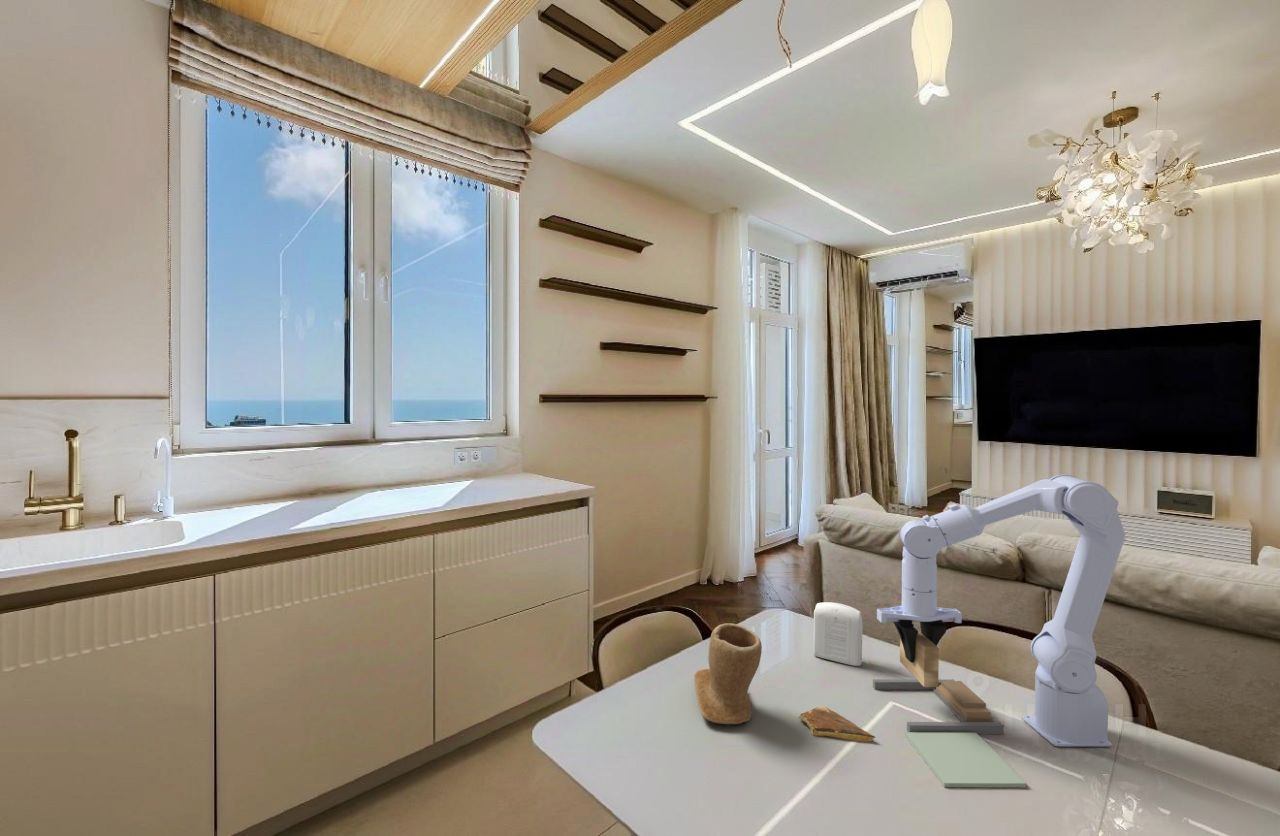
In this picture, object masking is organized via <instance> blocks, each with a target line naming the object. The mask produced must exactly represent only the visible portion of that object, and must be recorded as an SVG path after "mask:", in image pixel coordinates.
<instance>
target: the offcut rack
mask: <svg viewBox="0 0 1280 836" xmlns="http://www.w3.org/2000/svg"><path fill="white" fill-rule="evenodd" d="M872 688H873V689H874V690H882V691H883V690H889V691H890V690H891V691H892V690H893V691H894V690H898V691H899V690H902V691H903V690H908V691H909V690H925V691H926V690H929V691H930V690H932V691H933V694H934V695H935V696H937V697H938V699H939V700H941V702H942V703H943V704H944V705H945V706H947V708H948V709H949V710H950V711H951V712H952V713H953V714H954V715H955V716H956V717H957V718H958V719H959V720H960V721H907V722H906V731H907V732H947V733H977V734H978V735H1004V733H1005V731H1004V729H1005V726H1004V724H1003V723H1002V722H1000V721H995V720H994V717H993V716H992V715H991V711H990V710H988V708H987V703H986V702H985V701H984V700H983V699H981V697H979V695H977V694H976V693H975V692H974V691H972V689H971V688H970V687H968V686H967V685H966V684H965V683H964V682H963V681H961V680H955V679H938V687H924V686H923V685H922V684H921V683H920V682H919V681H918V680H917V679H916V678H915V679H909V678H908V679H900V678H899V679H897V678H896V679H886V678H885V679H883V678H882V679H880V678H879V679H875V678H874V679H872Z"/></svg>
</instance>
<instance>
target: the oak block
mask: <svg viewBox="0 0 1280 836" xmlns="http://www.w3.org/2000/svg"><path fill="white" fill-rule="evenodd" d="M914 628H916V627H915V626H914ZM917 630H918V629H917ZM899 639H900V640H899V662H900V664H902V666H904V668H905V669H907V671H908V672H909V673H910V674H911V675H912V676H913V677H914V678H915V679H917V680H918V681H919V682H920V683H921V684H922V685H923V686H924V687H938V680H939V671H940V670H939V666H940V665H939V663H940V662H939V660H940V658H939V656H940V655H939V654H940V653H939V652H940V649H939V648H940V647H938V645H937V646H936V645H935V644H934V643H932V642H931V641H930V640H929V639H928V638H927V637H925V636H924V635H923V634H922V633H921V630H918V634H917V638H916V643H915V661H914V662H910V661H909V660H908V659H907V658H906V657H905V652H904V647H903V644H902V641H901V638H900V637H899Z"/></svg>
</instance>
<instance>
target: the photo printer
mask: <svg viewBox="0 0 1280 836" xmlns="http://www.w3.org/2000/svg"><path fill="white" fill-rule="evenodd" d="M812 640H813V641H812V642H813V643H812V644H813V646H812V647H813V650H812V652H813V653H812V654H813V656H815V657H818V658H821V659H824V660H829V661H833V662H837V663H842V664H844V665H850V666H853V667H860V666H861V665H862V662H863V617H862V612H861V610H858V609H857V608H855V607H852V606H850V605H846V604H843V603H839V602H831V601H829V602H828V601H827V602H825V601H824V602H817V603H816V604H815V609H814V611H813V639H812Z"/></svg>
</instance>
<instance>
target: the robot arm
mask: <svg viewBox="0 0 1280 836" xmlns="http://www.w3.org/2000/svg"><path fill="white" fill-rule="evenodd" d="M1119 503H1120V502H1119V501H1118V499H1117V498H1116V497H1114V496H1113V494H1112V493H1111V492H1109V490H1108V489H1107V488H1106V487H1104V486H1103V485H1101V484H1100V483H1097V482H1094V481H1089V480H1085V479H1081V478H1079V477H1076V476H1074V475H1072V474H1064V473H1063V474H1058V475H1054V476H1052V477H1051V478H1045V479H1041V480H1040V479H1039V480H1037V481H1035V482H1033V483H1031V484H1028V485H1027V486H1024V487H1022V488H1020V489H1017V490H1014V491H1011V492H1010V493H1007V494H1005V495H1003V496H1000V497H997V498H995V499H992V500H990V501H988V502H985V503H983V504H980V505H979V506H976V507H973V506H970V505H968V504H960V505H958V504H957V503H953V504H950V505H948V508H949V509H947V510H945V511H942V512H940V513H939V512H938V513H937V514H934V515H931V516H929V515H928V514H925V515H924V516H922V519H923V520H920V519H919V520H918V519H913V520H909V521H907V522H906V523H905V524H903V526H902V527H901V529H900V532H899V533H898V536H899V539H900V541H901V543H902V544H903V547H902V560H901V605H895V606H891V607H886V608H876V619H877V621H879V622H880V623H881V624H887V623H888V622H891V623H893V624H894V626H895V628H896V630H897V633H898V634H899V639H900V638H901V641H902V644H903V647H904V652H905V657H906V658H907V659H908V660H909V661H910V662H914V661H915V643H916V638H917V634H918V628H916V627H915V624H914V623H913V622H915V623H916V622H919V626H920V632H921V633H922V634H923V635H924V636H925V637H927V638H928V639H929V640H930V641H931V642H932V643H934V644H935V645H936V646H937V647H938V644H939V643H940V641H941V639H942V638H943V637H944V636H945V635H946V632H947V627H946V625H944V624H943V622H954V623H956V624H962V622H963V621H962V616H963V615H962V614H963V613H962V612H961V611H959V610H958V609H957V608H945V607H938V605H937V603H938V599H937V598H938V597H937V596H938V595H937V593H938V590H937V589H938V588H937V587H938V564H937V554H939V552H940V550H941V549H942V548H946V547H949V546H952V545H954V544H955V545H956V544H957V543H960V542H963V541H967V540H969V539H973V538H976V537H978V536H981V535H982V534H983V531H984V529H985V527H986V526H987V525H991V524H994V523H998V522H1001V521H1003V520H1007V519H1010V518H1013V517H1017V516H1020V515H1024V514H1027V513H1030V512H1032V511H1039V512H1045V513H1050V514H1056V515H1064V517H1066V518H1067V519H1068V520H1069V521H1070V523H1071V524H1072V525H1073V526H1074V528H1075V529H1076V530H1077V532H1078V533H1079V535H1080V536H1079V539H1078V542H1077V546H1076V549H1075V551H1074V554H1073V558H1072V560H1071V564H1070V567H1069V570H1068V573H1067V576H1066V579H1065V583H1064V585H1063V588H1062V591H1061V594H1060V597H1059V599H1058V604H1057V607H1056V609H1055V613H1054V616H1053V618H1051V620H1049V621H1047V622H1045V623H1044V624H1043V627H1042V629H1041V631H1040V632H1039V634H1037V635H1036V636H1035V637H1034V638H1033V639H1032V640H1031V643H1030V651H1031V655H1032V657H1033V658H1034V659H1035V660H1036V661H1037V668H1036V669H1035V676H1034V678H1035V679H1034V681H1035V682H1034V683H1035V684H1034V685H1035V686H1034V714H1033V715H1028V714H1026V715H1022V716H1021V719H1022V720H1024V722H1026V724H1028V725H1029V726H1030V727H1031V728H1033V729H1034V730H1035V731H1037V732H1038V734H1039V735H1040V736H1042V737H1043V738H1045V740H1047V741H1048V742H1049V743H1050V744H1052V746H1055V747H1105V748H1106V747H1112V746H1113V744H1112V742H1111V741H1110V740H1109V739H1108V736H1109V735H1108V733H1109V732H1108V729H1109V728H1108V727H1109V706H1108V705H1109V704H1108V700H1107V698H1106V695H1105V693H1104V691H1103V690H1102V689H1101V688H1100V686H1098V685H1097V684H1096V683H1097V682H1096V681H1097V676H1098V675H1097V670H1096V667H1095V666H1096V665H1095V663H1096V659H1097V650H1096V646H1095V644H1094V640H1093V634H1094V631H1095V628H1096V625H1097V622H1098V619H1099V617H1100V613H1101V610H1102V607H1103V605H1104V601H1105V598H1106V596H1107V592H1108V590H1109V587H1110V584H1111V580H1112V577H1113V575H1114V572H1115V570H1116V569H1115V568H1116V566H1117V563H1118V559H1119V557H1120V554H1121V550H1122V548H1123V545H1124V542H1125V539H1126V538H1125V537H1126V533H1125V529H1124V527H1123V524H1122V521H1121V517H1120V514H1119V511H1118V506H1119ZM914 627H915V628H914Z"/></svg>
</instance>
